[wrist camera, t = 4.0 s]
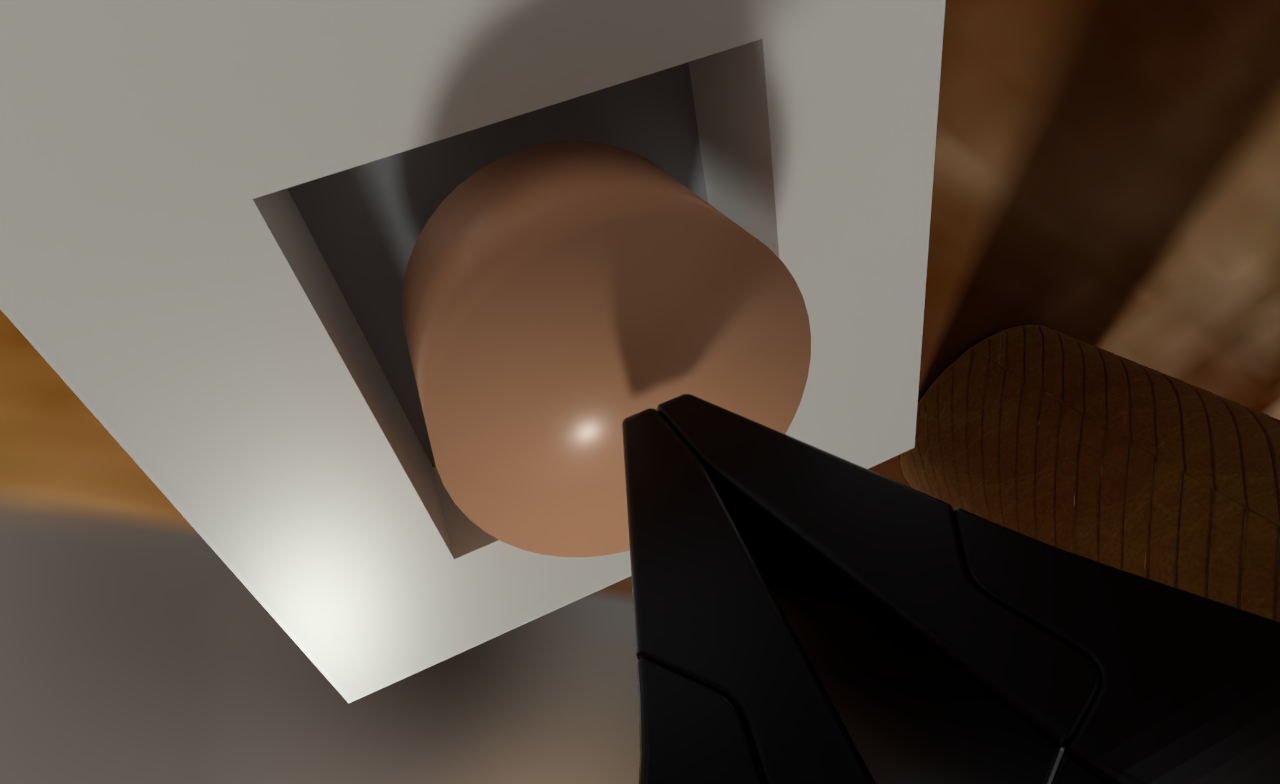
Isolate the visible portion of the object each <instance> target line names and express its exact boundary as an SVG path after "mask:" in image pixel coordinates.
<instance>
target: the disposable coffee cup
mask: <svg viewBox="0 0 1280 784" xmlns="http://www.w3.org/2000/svg"><path fill="white" fill-rule="evenodd" d="M900 462H901V468H902V472H903V475H904V477H905V479H906V480H907V481H908V483H909V484H910V485H911V486H912V488H913V489H915V490H918V491H920V492H923V493H925V494H927V495H930V496H932V497H934V498H937V499H939V500H941V501H944V502H946V503H949V504H950V505H951V506H952V508H953V511H954V510H955V509H956V508H961V509H963V510H966V511H968V512H970V513H973V514H975V515H978V516H980V517H982V518H985V519H987V520H989V521H992V522H994V523H997V524H999V525H1002V526H1004V527H1007V528H1009V529H1012V530H1014V531H1017V532H1019V533H1022V534H1024V535H1027V536H1029V537H1032V538H1034V539H1037V540H1039V541H1042V542H1044V543H1047V544H1049V545H1052V546H1055V547H1058V548H1061V549H1064V550H1066V551H1069V552H1072V553H1075V554H1078V555H1081V556H1083V557H1086V558H1089V559H1092V560H1095V561H1098V562H1101V563H1103V564H1106V565H1109V566H1112V567H1115V568H1118V569H1121V570H1124V571H1127V572H1130V573H1133V574H1136V575H1139V576H1142V577H1145V578H1148V579H1151V580H1154V581H1157V582H1160V583H1163V584H1166V585H1169V586H1172V587H1175V588H1178V589H1181V590H1184V591H1187V592H1190V593H1193V594H1196V595H1199V596H1203V597H1206V598H1209V599H1212V600H1215V601H1218V602H1221V603H1224V604H1227V605H1230V606H1233V607H1236V608H1239V609H1242V610H1245V611H1248V612H1251V613H1254V614H1257V615H1260V616H1263V617H1266V618H1269V619H1272V620H1275V621H1278V622H1280V420H1278V419H1275V418H1273V417H1270V416H1269V415H1267V414H1264V413H1262V412H1259V411H1256V410H1254V409H1251V408H1248V407H1246V406H1243V405H1241V404H1239V403H1237V402H1234V401H1231V400H1229V399H1226V398H1223V397H1221V396H1218V395H1215V394H1213V393H1212V392H1209V391H1207V390H1204V389H1201V388H1198V387H1196V386H1193V385H1190V384H1188V383H1185V382H1184V381H1182V380H1179V379H1176V378H1174V377H1171V376H1168V375H1166V374H1163V373H1160V372H1159V371H1156V370H1153V369H1151V368H1148V367H1145V366H1143V365H1140V364H1137V363H1136V362H1134V361H1131V360H1128V359H1126V358H1123V357H1120V356H1118V355H1115V354H1113V353H1111V352H1108V351H1106V350H1103V349H1100V348H1098V347H1095V346H1093V345H1091V344H1088V343H1086V342H1083V341H1081V340H1078V339H1076V338H1073V337H1071V336H1068V335H1066V334H1063V333H1061V332H1058V331H1056V330H1053V329H1051V328H1049V327H1047V326H1040V325H1032V324H1030V325H1023V326H1016V327H1012V328H1008V329H1005V330H1002V331H1000V332H998V333H996V334H994V335H992V336H990V337H988V338H986V339H984V340H982V341H981V342H979V343H977V344H976V345H974V346H973V347H971V348H969V349H968V350H967V351H966V352H964V353H963V354H962V355H961V356H960V357H959V358H958V359H956V360H955V361H954V362H953V363H952V364H951V365H949V366H948V367H947V368H946V369H945V370H944V371H943V372H942V373H941V374H940V376H939V377H938V378H937V379H936V380H935V381H934V382H933V383H932V385H931V386H930V387H929V389H928V390H927V392H926V393H925V394H924V396H923V397H922V398H921V400H920V401H919V403H918V405H917V420H916V434H915V448H913V449H910V450H908V451H906V452H904V453H902V454H900Z"/></svg>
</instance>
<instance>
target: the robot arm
mask: <svg viewBox="0 0 1280 784" xmlns="http://www.w3.org/2000/svg"><path fill="white" fill-rule="evenodd" d="M622 432H623V448H624V464H625V480H626V496H627V512H628V528H629V544H630V561H631V577H632V593H633V609H634V625H635V641H636V655H637V658H638V661H637V679H638V694H639V695H638V696H639V731H640V768H639V784H1280V622H1278V621H1275V620H1272V619H1269V618H1266V617H1263V616H1260V615H1257V614H1254V613H1251V612H1248V611H1245V610H1242V609H1239V608H1236V607H1233V606H1230V605H1227V604H1224V603H1221V602H1218V601H1215V600H1212V599H1209V598H1206V597H1203V596H1199V595H1196V594H1193V593H1190V592H1187V591H1184V590H1181V589H1178V588H1175V587H1172V586H1169V585H1166V584H1163V583H1160V582H1157V581H1154V580H1151V579H1148V578H1145V577H1142V576H1139V575H1136V574H1133V573H1130V572H1127V571H1124V570H1121V569H1118V568H1115V567H1112V566H1109V565H1106V564H1103V563H1101V562H1098V561H1095V560H1092V559H1089V558H1086V557H1083V556H1081V555H1078V554H1075V553H1072V552H1069V551H1066V550H1064V549H1061V548H1058V547H1055V546H1052V545H1049V544H1047V543H1044V542H1042V541H1039V540H1037V539H1034V538H1032V537H1029V536H1027V535H1024V534H1022V533H1019V532H1017V531H1014V530H1012V529H1009V528H1007V527H1004V526H1002V525H999V524H997V523H994V522H992V521H989V520H987V519H985V518H982V517H980V516H978V515H975V514H973V513H970V512H968V511H966V510H963V509H961V508H956V509H955V510H954V511H953V508H952V506H951V505H950V504H949V503H946V502H944V501H941V500H939V499H937V498H934V497H932V496H930V495H927V494H925V493H923V492H920V491H918V490H915V489H913V488H911V487H908V486H906V485H904V484H901V483H899V482H897V481H894V480H892V479H889V478H887V477H885V476H882V475H880V474H878V473H875V472H873V471H871V470H868V469H866V468H864V467H861V466H859V465H856V464H854V463H852V462H849V461H847V460H845V459H842V458H840V457H838V456H835V455H833V454H830V453H828V452H826V451H823V450H821V449H819V448H816V447H814V446H812V445H809V444H807V443H804V442H802V441H800V440H797V439H795V438H793V437H790V436H788V435H786V434H783V433H781V432H779V431H776V430H774V429H771V428H769V427H767V426H764V425H762V424H760V423H757V422H755V421H753V420H750V419H748V418H745V417H743V416H741V415H738V414H736V413H734V412H731V411H729V410H727V409H724V408H722V407H719V406H717V405H715V404H712V403H710V402H708V401H705V400H703V399H701V398H698V397H696V396H693V395H691V394H683V395H680V396H678V397H676V398H673V399H671V400H668V401H666V402H663V403H661V404H659V405H658V407H657V409H652V408H649V409H646V410H644V411H641V412H639V413H636V414H634V415H631V416H629V417H626V418H625V419H624V420H623V422H622Z"/></svg>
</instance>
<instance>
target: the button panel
mask: <svg viewBox="0 0 1280 784" xmlns="http://www.w3.org/2000/svg"><path fill="white" fill-rule="evenodd" d="M945 1H946V0H0V309H1V310H2V312H3V313H4V314H5V315H6V316H7V317H8V318H9V320H10V321H11V322H12V323H13V324H14V325H15V326H16V327H17V329H18V330H19V331H20V332H21V333H22V334H23V335H24V336H25V338H26V339H27V340H28V341H29V342H30V343H31V344H32V346H33V347H34V348H35V349H36V350H37V351H38V352H39V353H40V355H41V356H42V357H43V358H44V359H45V360H46V361H47V363H48V364H49V365H50V366H51V367H52V368H53V369H54V370H55V372H56V373H57V374H58V375H59V376H60V377H61V378H62V380H63V381H64V382H65V383H66V384H67V385H68V386H69V387H70V389H71V390H72V391H73V392H74V393H75V394H76V395H77V397H78V398H79V399H80V400H81V401H82V402H83V403H84V404H85V406H86V407H87V408H88V409H89V410H90V411H91V412H92V413H93V415H94V416H95V417H96V418H97V419H98V420H99V421H100V423H101V424H102V425H103V426H104V427H105V428H106V429H107V430H108V432H109V433H110V434H111V435H112V436H113V437H114V438H115V440H116V441H117V442H118V443H119V444H120V445H121V446H122V447H123V449H124V450H125V451H126V452H127V453H128V454H129V455H130V457H131V458H132V459H133V460H134V461H135V462H136V463H137V464H138V466H139V467H140V468H141V469H142V470H143V471H144V472H145V474H146V475H147V476H148V477H149V478H150V479H151V480H152V481H153V483H154V484H155V485H156V486H157V487H158V488H159V489H160V490H161V492H162V493H163V494H164V495H165V496H166V497H167V498H168V500H169V501H170V502H171V503H172V504H173V505H174V506H175V507H176V509H177V510H178V511H179V512H180V513H181V514H182V515H183V517H184V518H185V519H186V520H187V521H188V522H189V523H190V524H191V526H192V527H193V528H194V529H195V530H196V531H197V532H198V534H199V535H200V536H201V537H202V538H203V539H204V540H205V541H206V543H207V544H208V545H209V546H210V547H211V548H212V549H213V550H214V552H215V553H216V554H217V555H218V556H219V557H220V558H221V560H222V561H223V562H224V563H225V564H226V565H227V566H228V567H229V569H230V570H231V571H232V572H233V573H234V574H235V575H236V576H237V578H238V579H239V580H240V581H241V582H242V583H243V584H244V586H245V587H246V588H247V589H248V590H249V591H250V592H251V594H252V595H254V597H255V598H256V599H257V600H258V601H259V602H260V604H261V605H262V606H263V607H264V608H265V609H266V611H267V612H268V613H269V614H270V615H271V616H272V617H273V618H274V619H275V621H276V622H277V623H278V624H279V625H280V626H281V627H282V629H283V630H284V631H285V632H286V633H287V634H288V635H289V636H290V638H291V639H292V640H293V641H294V642H295V643H296V644H297V646H298V647H299V648H300V649H301V650H302V651H303V652H304V654H305V655H306V656H307V657H308V658H309V659H310V660H311V661H312V663H313V664H314V665H315V666H316V667H317V668H318V669H319V670H320V672H321V673H322V674H323V675H324V676H325V677H326V678H327V680H328V681H329V682H330V683H331V684H332V685H333V686H334V687H335V689H336V690H338V692H339V693H340V694H341V695H342V696H343V698H344V699H345V700H346V701H347V702H348V703H351V702H353V701H355V700H357V699H360V698H362V697H364V696H366V695H369V694H371V693H373V692H375V691H377V690H380V689H382V688H384V687H386V686H389V685H391V684H393V683H395V682H397V681H400V680H402V679H404V678H406V677H408V676H411V675H413V674H415V673H417V672H420V671H422V670H424V669H426V668H428V667H431V666H433V665H435V664H437V663H439V662H441V661H444V660H446V659H448V658H450V657H453V656H455V655H457V654H459V653H462V652H464V651H466V650H468V649H470V648H473V647H475V646H477V645H479V644H481V643H483V642H486V641H488V640H490V639H492V638H495V637H497V636H499V635H501V634H503V633H506V632H508V631H510V630H512V629H515V628H517V627H519V626H521V625H523V624H526V623H528V622H530V621H532V620H535V619H537V618H539V617H541V616H543V615H545V614H548V613H550V612H552V611H554V610H557V609H559V608H561V607H563V606H565V605H568V604H570V603H572V602H574V601H577V600H579V599H581V598H583V597H585V596H588V595H590V594H592V593H594V592H596V591H599V590H601V589H603V588H605V587H607V586H610V585H612V584H614V583H616V582H619V581H621V580H623V579H625V578H627V577H630V576H631V561H630V551H625V552H620V553H615V554H610V555H604V556H593V557H558V556H550V555H542V554H538V553H534V552H530V551H526V550H522V549H519V548H517V547H514V546H512V545H509V544H507V543H504V542H502V541H500V540H498V539H497V538H495V537H493V536H491V535H490V534H488V533H486V532H485V531H483V530H482V529H481V528H480V527H478V526H477V525H476V524H475V523H473V522H472V521H471V520H469V519H468V517H467V516H466V515H465V514H464V513H463V512H462V511H461V510H460V509H459V508H458V506H457V505H456V504H455V503H454V501H453V500H452V498H451V496H450V495H449V493H448V492H447V490H446V489H445V487H444V485H443V483H442V480H441V478H440V475H439V473H438V470H437V468H436V465H435V461H434V457H433V452H432V448H431V444H430V439H429V435H428V431H427V427H426V422H425V418H424V414H423V409H422V405H421V401H420V397H419V392H418V388H417V384H416V380H415V375H414V371H413V367H412V362H411V358H410V354H409V350H408V345H407V341H406V336H405V332H404V327H403V320H402V305H401V302H402V291H403V281H404V277H405V273H406V268H407V264H408V261H409V258H410V255H411V253H412V250H413V248H414V245H415V243H416V240H417V239H418V237H419V235H420V233H421V231H422V230H423V228H424V226H425V224H426V223H427V221H428V219H429V218H430V217H431V216H432V214H433V213H434V212H435V210H436V209H437V208H438V206H439V205H440V204H441V203H442V201H443V200H444V199H445V198H446V197H447V196H448V195H449V194H450V193H451V192H452V191H453V190H454V189H455V188H456V187H457V186H458V185H459V184H461V183H462V182H463V181H465V180H466V179H467V178H469V177H470V176H471V175H473V174H474V173H475V172H477V171H478V170H479V169H481V168H483V167H485V166H486V165H488V164H490V163H492V162H494V161H495V160H497V159H499V158H501V157H503V156H506V155H508V154H511V153H513V152H516V151H518V150H521V149H524V148H528V147H532V146H536V145H540V144H544V143H551V142H560V141H592V142H597V143H603V144H609V145H614V146H617V147H620V148H623V149H626V150H629V151H632V152H634V153H636V154H638V155H640V156H642V157H644V158H646V159H648V160H650V161H651V162H653V163H654V164H656V165H657V166H658V167H660V168H661V169H663V170H664V171H665V172H667V173H668V174H669V175H671V176H672V177H674V178H675V179H676V180H678V181H679V182H680V183H682V184H683V185H684V186H686V187H687V188H689V189H690V190H691V191H693V192H694V193H695V194H697V195H698V196H699V197H701V198H702V199H703V200H705V201H706V202H708V203H709V204H710V205H712V206H713V207H714V208H716V209H717V210H718V211H720V212H721V213H723V214H724V215H725V216H727V217H728V218H729V219H731V220H732V221H733V222H735V223H736V224H738V225H739V226H740V227H742V228H743V229H744V230H746V231H747V232H748V233H750V234H751V235H753V236H754V237H755V238H757V239H758V240H759V241H761V242H762V243H763V244H765V245H766V246H767V247H768V248H769V249H770V250H771V251H772V252H773V253H774V254H775V255H776V256H777V257H778V258H779V259H780V260H781V261H782V262H783V263H784V264H785V266H786V267H787V269H788V270H789V272H790V273H791V275H792V276H793V277H794V279H795V281H796V283H797V285H798V287H799V290H800V292H801V294H802V296H803V299H804V302H805V306H806V309H807V313H808V316H809V323H810V332H811V359H810V366H809V372H808V378H807V382H806V386H805V389H804V393H803V396H802V399H801V402H800V404H799V407H798V409H797V412H796V414H795V417H794V419H793V421H792V423H791V424H790V426H789V428H788V430H787V432H786V435H788V436H790V437H793V438H795V439H797V440H800V441H802V442H804V443H807V444H809V445H812V446H814V447H816V448H819V449H821V450H823V451H826V452H828V453H830V454H833V455H835V456H838V457H840V458H842V459H845V460H847V461H849V462H852V463H854V464H856V465H859V466H861V467H864V468H866V469H868V468H871V467H873V466H875V465H877V464H879V463H882V462H884V461H886V460H888V459H891V458H893V457H895V456H897V455H899V454H902V453H904V452H906V451H908V450H910V449H913V448H915V434H916V420H917V405H918V391H919V376H920V362H921V347H922V333H923V318H924V304H925V290H926V275H927V261H928V246H929V232H930V217H931V203H932V188H933V174H934V160H935V145H936V131H937V116H938V102H939V87H940V73H941V58H942V44H943V29H944V15H945Z"/></svg>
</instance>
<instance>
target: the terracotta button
mask: <svg viewBox="0 0 1280 784" xmlns="http://www.w3.org/2000/svg"><path fill="white" fill-rule="evenodd" d="M401 305H402V320H403V327H404V332H405V336H406V341H407V345H408V350H409V354H410V358H411V362H412V367H413V371H414V375H415V380H416V384H417V388H418V392H419V397H420V401H421V405H422V409H423V414H424V418H425V422H426V427H427V431H428V435H429V439H430V444H431V448H432V452H433V457H434V461H435V465H436V468H437V470H438V473H439V475H440V478H441V480H442V483H443V485H444V487H445V489H446V490H447V492H448V493H449V495H450V496H451V498H452V500H453V501H454V503H455V504H456V505H457V506H458V508H459V509H460V510H461V511H462V512H463V513H464V514H465V515H466V516H467V517H468V519H469V520H471V521H472V522H473V523H475V524H476V525H477V526H478V527H480V528H481V529H482V530H483V531H485V532H486V533H488V534H490V535H491V536H493V537H495V538H497V539H498V540H500V541H502V542H504V543H507V544H509V545H512V546H514V547H517V548H519V549H522V550H526V551H530V552H534V553H538V554H542V555H550V556H558V557H593V556H604V555H610V554H615V553H620V552H625V551H630V544H629V528H628V512H627V496H626V480H625V464H624V448H623V432H622V422H623V420H624V419H625V418H626V417H629V416H631V415H634V414H636V413H639V412H641V411H644V410H646V409H649V408H652V409H657V407H658V405H659V404H661V403H663V402H666V401H668V400H671V399H673V398H676V397H678V396H680V395H683V394H691V395H693V396H696V397H698V398H701V399H703V400H705V401H708V402H710V403H712V404H715V405H717V406H719V407H722V408H724V409H727V410H729V411H731V412H734V413H736V414H738V415H741V416H743V417H745V418H748V419H750V420H753V421H755V422H757V423H760V424H762V425H764V426H767V427H769V428H771V429H774V430H776V431H779V432H781V433H783V434H786V432H787V430H788V428H789V426H790V424H791V423H792V421H793V419H794V417H795V414H796V412H797V409H798V407H799V404H800V402H801V399H802V396H803V393H804V389H805V386H806V382H807V378H808V372H809V366H810V359H811V332H810V323H809V316H808V313H807V309H806V306H805V302H804V299H803V296H802V294H801V292H800V290H799V287H798V285H797V283H796V281H795V279H794V277H793V276H792V275H791V273H790V272H789V270H788V269H787V267H786V266H785V264H784V263H783V262H782V261H781V260H780V259H779V258H778V257H777V256H776V255H775V254H774V253H773V252H772V251H771V250H770V249H769V248H768V247H767V246H766V245H765V244H763V243H762V242H761V241H759V240H758V239H757V238H755V237H754V236H753V235H751V234H750V233H748V232H747V231H746V230H744V229H743V228H742V227H740V226H739V225H738V224H736V223H735V222H733V221H732V220H731V219H729V218H728V217H727V216H725V215H724V214H723V213H721V212H720V211H718V210H717V209H716V208H714V207H713V206H712V205H710V204H709V203H708V202H706V201H705V200H703V199H702V198H701V197H699V196H698V195H697V194H695V193H694V192H693V191H691V190H690V189H689V188H687V187H686V186H684V185H683V184H682V183H680V182H679V181H678V180H676V179H675V178H674V177H672V176H671V175H669V174H668V173H667V172H665V171H664V170H663V169H661V168H660V167H658V166H657V165H656V164H654V163H653V162H651V161H650V160H648V159H646V158H644V157H642V156H640V155H638V154H636V153H634V152H632V151H629V150H626V149H623V148H620V147H617V146H614V145H609V144H603V143H597V142H592V141H560V142H551V143H544V144H540V145H536V146H532V147H528V148H524V149H521V150H518V151H516V152H513V153H511V154H508V155H506V156H503V157H501V158H499V159H497V160H495V161H494V162H492V163H490V164H488V165H486V166H485V167H483V168H481V169H479V170H478V171H477V172H475V173H474V174H473V175H471V176H470V177H469V178H467V179H466V180H465V181H463V182H462V183H461V184H459V185H458V186H457V187H456V188H455V189H454V190H453V191H452V192H451V193H450V194H449V195H448V196H447V197H446V198H445V199H444V200H443V201H442V203H441V204H440V205H439V206H438V208H437V209H436V210H435V212H434V213H433V214H432V216H431V217H430V218H429V219H428V221H427V223H426V224H425V226H424V228H423V230H422V231H421V233H420V235H419V237H418V239H417V240H416V243H415V245H414V248H413V250H412V253H411V255H410V258H409V261H408V264H407V268H406V273H405V277H404V281H403V291H402V302H401Z"/></svg>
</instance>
